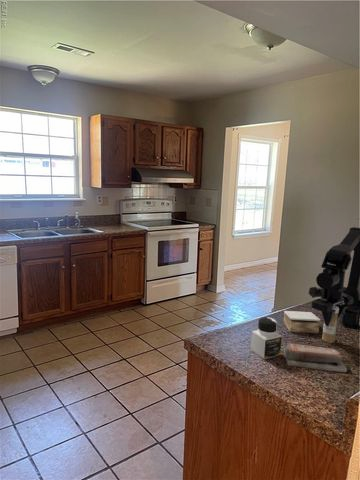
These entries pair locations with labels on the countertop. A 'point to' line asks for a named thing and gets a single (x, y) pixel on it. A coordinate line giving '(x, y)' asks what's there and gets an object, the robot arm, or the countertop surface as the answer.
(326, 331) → the sprinkles bottle
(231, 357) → the countertop surface
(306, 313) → the lid
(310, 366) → the packaged product
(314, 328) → the box
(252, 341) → the medicine bottle
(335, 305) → the robot arm
